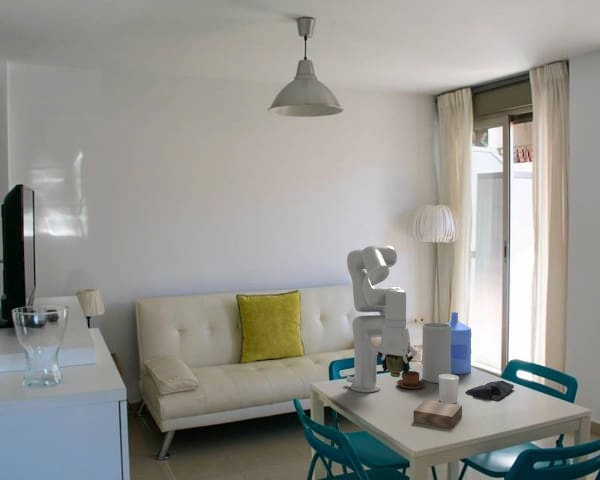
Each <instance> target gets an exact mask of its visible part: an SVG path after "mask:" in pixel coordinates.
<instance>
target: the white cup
mask: <svg viewBox="0 0 600 480" xmlns="http://www.w3.org/2000/svg"><path fill="white" fill-rule="evenodd" d="M459 381H460V377H459V376H458V375H457V374H441V375H439V383H438V392H439V402H443V403H450V404H457V403H458V395H459Z"/></svg>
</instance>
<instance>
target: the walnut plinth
mask: <svg viewBox="0 0 600 480" xmlns="http://www.w3.org/2000/svg"><path fill="white" fill-rule="evenodd" d="M462 417H463V404H462V405H461V404H457V403H454V404H450V403H443V402H441V401H435V400H428V399H424V401H422V402H421V403H420V404H419V405H418V406H417V407H416V408H414V410H413V422H415V423H420V424H426V425H432V426H439V427H446V428H449V429H453V428H454V427H455V426H456V424H457V423H458V422H459V421H460V419H461V418H462Z"/></svg>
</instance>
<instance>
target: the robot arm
mask: <svg viewBox="0 0 600 480" xmlns="http://www.w3.org/2000/svg"><path fill="white" fill-rule="evenodd" d="M397 260H398V255H397V250H396V249H395V248H394V247H393V246H391V245H369V246H367V247H365V248H363V249H356V250H352V251H350V252H348V254H347V257H346V264H347V269H348V273H349V276H350V278H351V282H352V295H353V296H352V297H353V306H354V309H355V311H356V312H357V313H379V314H378V315H377V314H375V315H374V314H371V315H368V314H367V315H359V316H356V317H355V318H353V320H352V324H351V327H352V335H353V344H354V345H353V346H354V351H353V352H354V363H353V364H354V368H353V369H354V370H353V371H354V376H349V375H347V376H346V377H345V378H346V379H345V380H346V382H347V383H352V384H351V385H350V389H351V390H352V391H355V392H359V393H375V392H378V391H380V390H381V385H380V384H378V383H377V381H378V380H377V377H378V376H377V372H378V371H377V367H378V366H377V363H378V362H377V361H378V360H377V357H379V358H380V359H381V362H382V363H381V366H382V367H381V368H382V369H383V372H386V371H389V370H388V369H387V365H386V356H385V355H394V356H402V357H403V360H404V363H403V371H402V372H403V374H406V373H408V371H410V362H411V361H412V360H413V359H414V358H415V357H416V356H417V355H418V351H416V349H415V348H414V347H413V346H412V345H411V339H410V331H409V328H408V326H407V292H406V291H405V290H403V289H402V288H401V287H399V286H375V285H378V284H379V283H382V282H384V281H385V280H386V279H387V278H388V277H389V275H390V269H389V268H391V267H394V266H395V265H396V263H397ZM373 338H374V339H375V338H376V339H377V338H380V343H379V344H378V345H377V346H376V344H375V342H373V340H372V339H373ZM410 353H411V355H410V356H409V354H410ZM377 355H378V356H377Z"/></svg>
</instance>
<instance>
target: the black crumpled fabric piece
mask: <svg viewBox="0 0 600 480" xmlns="http://www.w3.org/2000/svg"><path fill="white" fill-rule="evenodd" d="M514 388H515V385H514V384H512V383H510V382H507V381H504V380H496V381H490V382H487V383H486V384H483V385H478V386H475V387H472V388H470V389H468V390H465V394H466V395H467V396H471V397H476V398H479V399H483V400H489V401H495V402H497V401H498V402H499V401H500V400H501V399H503V398H504V397H506V396H507V395H508V394H509V393H510V392H511V391H512V390H513V389H514Z"/></svg>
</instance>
